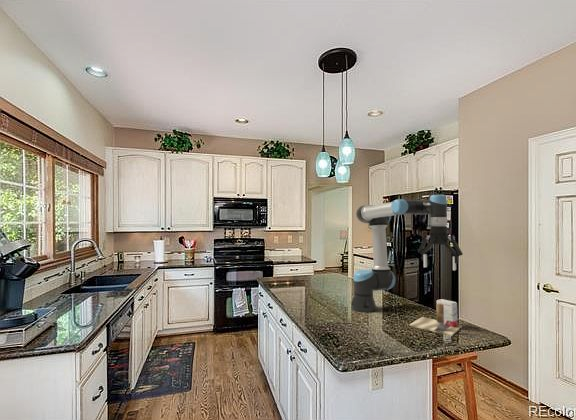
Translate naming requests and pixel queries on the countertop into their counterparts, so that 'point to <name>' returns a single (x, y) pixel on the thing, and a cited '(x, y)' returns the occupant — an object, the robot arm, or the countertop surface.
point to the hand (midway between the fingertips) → (439, 268)
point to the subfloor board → (434, 326)
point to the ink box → (449, 312)
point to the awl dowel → (440, 316)
